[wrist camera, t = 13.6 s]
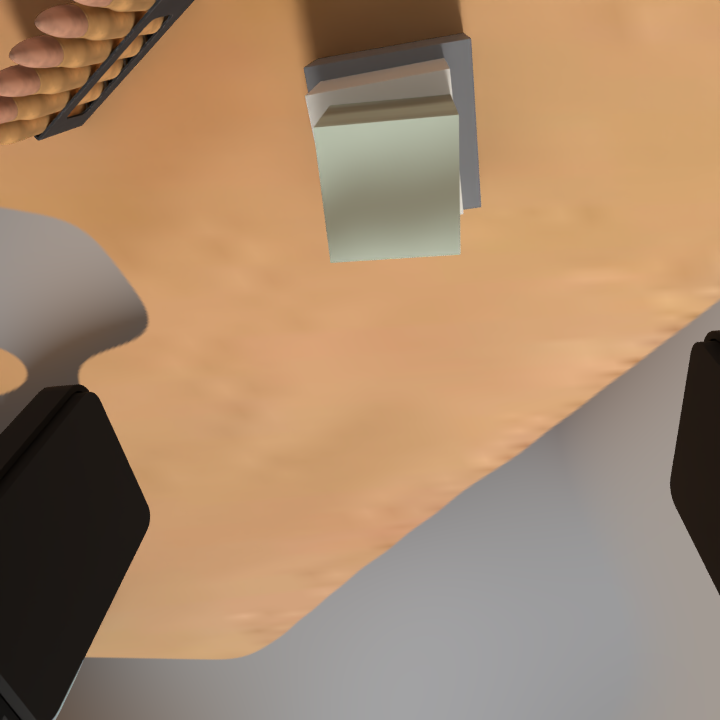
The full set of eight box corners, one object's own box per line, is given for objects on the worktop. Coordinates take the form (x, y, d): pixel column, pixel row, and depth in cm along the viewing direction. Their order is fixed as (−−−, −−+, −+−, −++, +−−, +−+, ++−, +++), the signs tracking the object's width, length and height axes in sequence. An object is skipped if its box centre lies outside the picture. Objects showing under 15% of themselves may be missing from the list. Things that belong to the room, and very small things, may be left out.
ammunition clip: (174, -39, 31) (58, -56, 21) (200, -7, 32) (100, -8, 22) (55, 100, 35) (-90, 143, 25) (81, 126, 36) (-51, 178, 26)
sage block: (329, 105, 25) (313, 127, 21) (450, 94, 25) (458, 114, 20) (342, 221, 28) (330, 262, 23) (452, 213, 27) (460, 254, 23)
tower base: (317, 58, 33) (303, 67, 29) (463, 32, 32) (471, 38, 28) (342, 200, 37) (333, 226, 33) (473, 182, 36) (481, 207, 32)
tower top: (320, 81, 29) (304, 96, 25) (443, 57, 28) (449, 68, 24) (343, 202, 32) (333, 233, 28) (456, 184, 31) (463, 213, 27)
